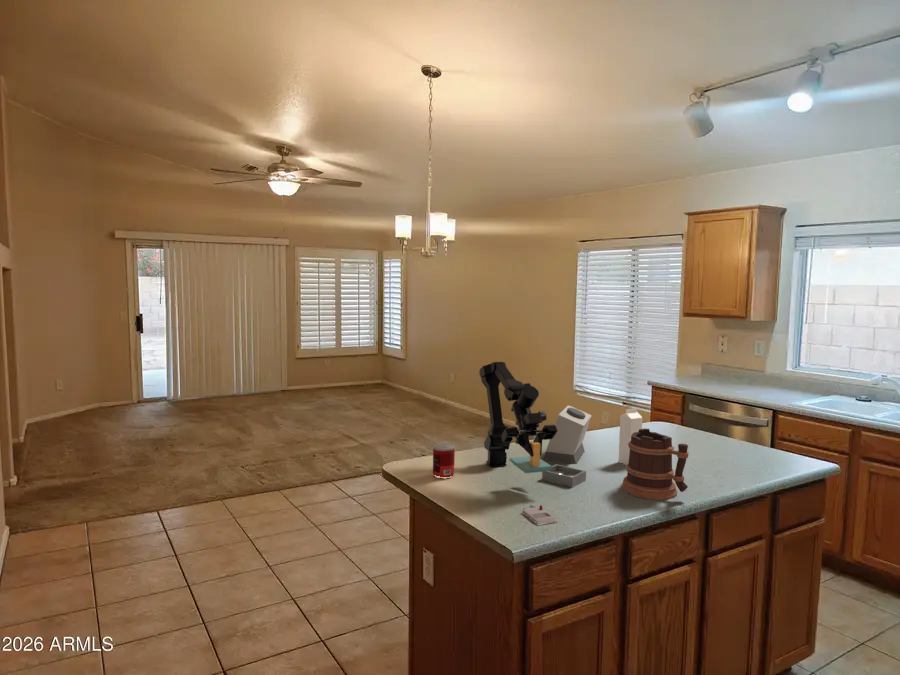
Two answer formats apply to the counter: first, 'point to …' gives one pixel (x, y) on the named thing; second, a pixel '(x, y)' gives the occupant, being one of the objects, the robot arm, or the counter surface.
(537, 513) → the electrical control box
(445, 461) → the canned food
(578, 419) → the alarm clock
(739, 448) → the counter surface
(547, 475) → the tub
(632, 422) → the milk
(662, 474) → the mug
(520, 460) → the lid
